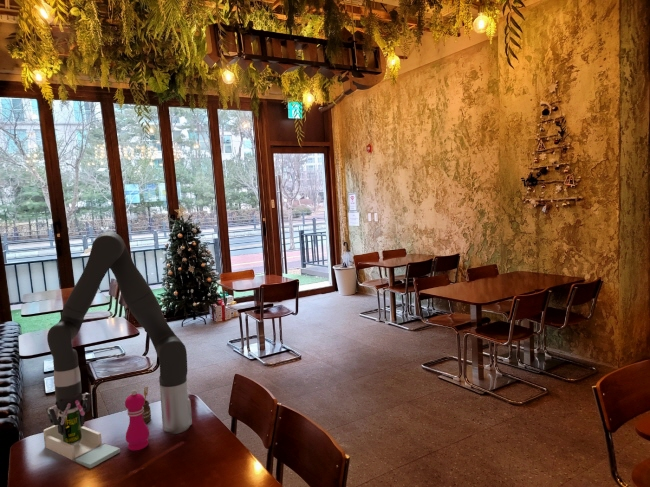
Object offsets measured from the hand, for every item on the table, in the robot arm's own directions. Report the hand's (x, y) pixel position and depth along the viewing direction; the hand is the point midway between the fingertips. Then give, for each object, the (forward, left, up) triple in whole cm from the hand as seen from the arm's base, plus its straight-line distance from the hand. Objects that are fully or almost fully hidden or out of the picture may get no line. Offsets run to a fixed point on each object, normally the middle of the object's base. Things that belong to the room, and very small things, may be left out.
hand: (72, 430), depth 147 cm
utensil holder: (-24, +4, -7) cm, 25 cm away
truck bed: (0, 0, -7) cm, 7 cm away
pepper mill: (-11, +19, -7) cm, 23 cm away
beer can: (0, 0, -4) cm, 4 cm away
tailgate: (0, +9, -6) cm, 11 cm away
